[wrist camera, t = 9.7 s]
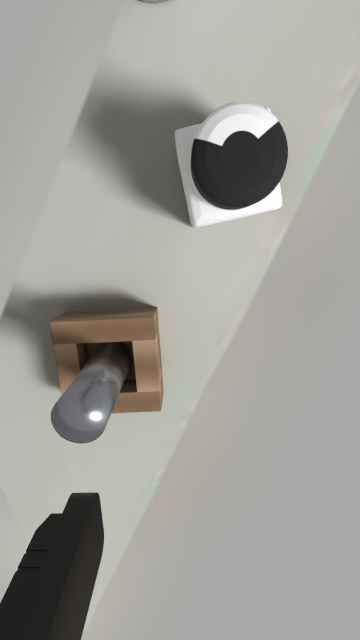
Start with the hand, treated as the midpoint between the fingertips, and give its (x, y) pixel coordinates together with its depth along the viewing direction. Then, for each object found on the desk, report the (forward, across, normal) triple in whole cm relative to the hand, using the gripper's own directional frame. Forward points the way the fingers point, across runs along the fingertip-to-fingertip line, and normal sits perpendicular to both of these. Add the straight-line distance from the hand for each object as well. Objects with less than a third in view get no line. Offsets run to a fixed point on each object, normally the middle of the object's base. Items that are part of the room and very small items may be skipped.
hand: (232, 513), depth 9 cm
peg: (+25, +9, +5) cm, 27 cm away
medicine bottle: (+26, -2, -12) cm, 29 cm away
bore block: (+26, +9, +5) cm, 28 cm away
